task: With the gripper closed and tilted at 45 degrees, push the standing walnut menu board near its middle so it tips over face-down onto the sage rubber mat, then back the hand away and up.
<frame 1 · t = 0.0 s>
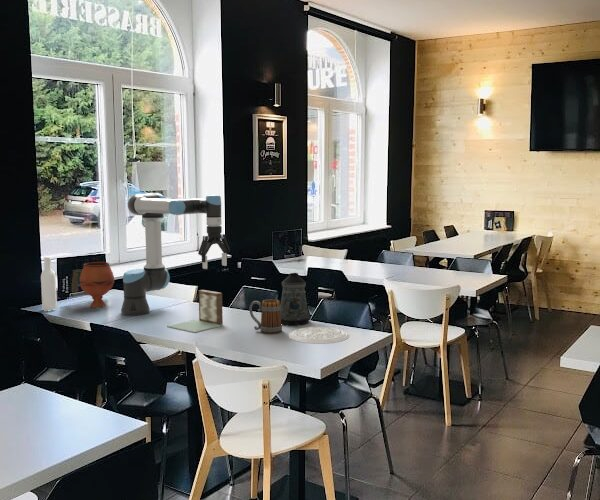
hand: (214, 267, 332), 28 cm above the table, tool pointing down, fingers open, 13 cm apart
beer stein: (292, 322, 332), on the table
ceiling medallion: (318, 337, 303), on the table
mug: (265, 332, 311), on the table
mat: (194, 326, 322), on the table
bottle: (50, 310, 363), on the table
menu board: (210, 322, 331), on the table
goblet: (98, 306, 373), on the table
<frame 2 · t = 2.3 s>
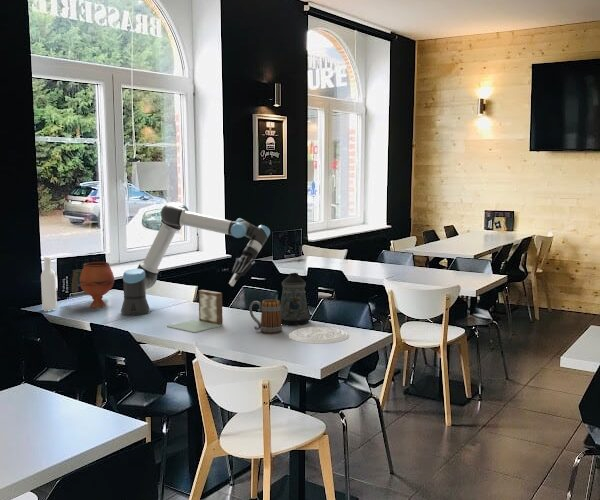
hand: (230, 284, 340), 18 cm above the table, tool tilted 45°, fingers closed
nothing on the table moved.
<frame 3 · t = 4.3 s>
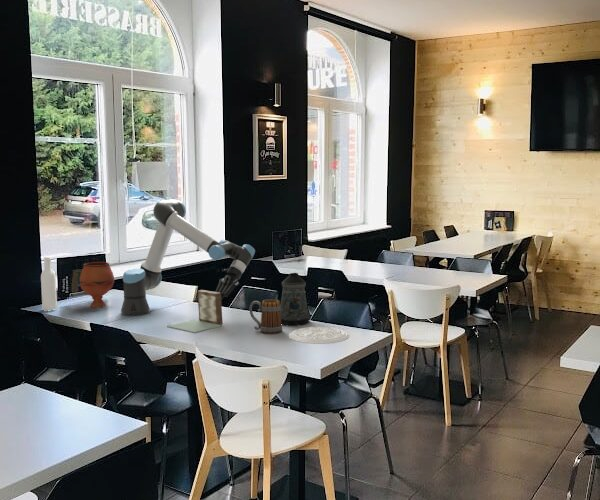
hand: (213, 306, 332), 8 cm above the table, tool tilted 45°, fingers closed
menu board: (210, 322, 331), on the table, touching gripper
everything else where it was.
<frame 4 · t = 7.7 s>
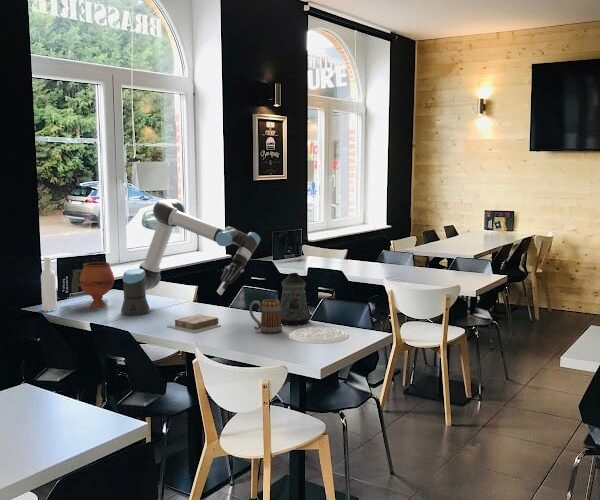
hand: (219, 293, 333), 14 cm above the table, tool tilted 45°, fingers closed
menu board: (208, 318, 329), point 2 cm above the table, tilted 90°, touching mat
everything else where it was.
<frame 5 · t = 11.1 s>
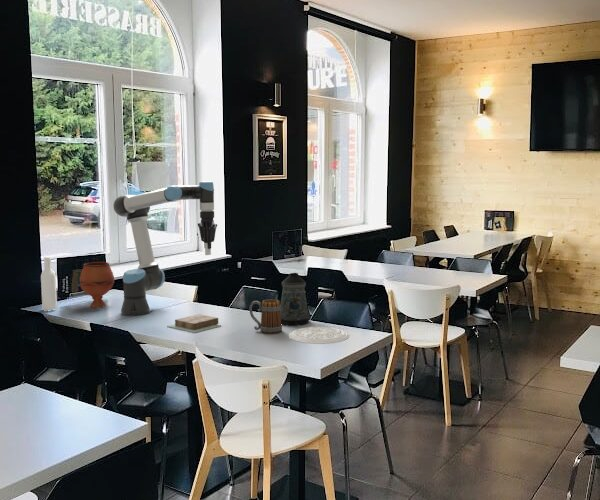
hand: (208, 254, 347), 32 cm above the table, tool pointing down, fingers closed
nothing on the table moved.
at the end: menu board tilted 90°; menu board inside the target area (0.0 cm from its centre), point 2.1 cm above the table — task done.
